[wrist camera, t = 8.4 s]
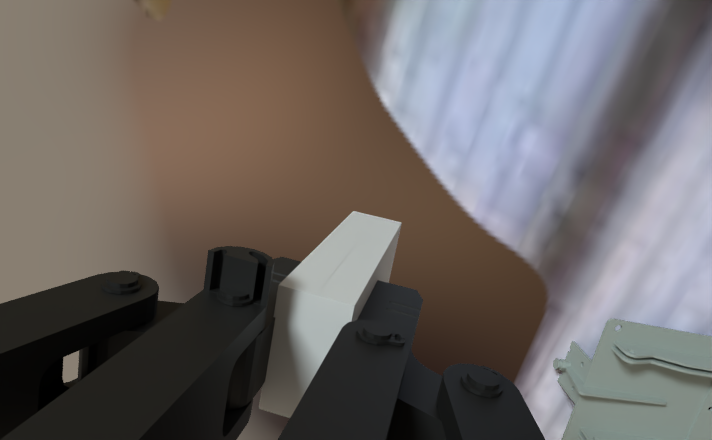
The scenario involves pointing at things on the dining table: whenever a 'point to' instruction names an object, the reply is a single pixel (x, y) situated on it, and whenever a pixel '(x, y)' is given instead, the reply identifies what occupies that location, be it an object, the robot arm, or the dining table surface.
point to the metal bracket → (640, 385)
